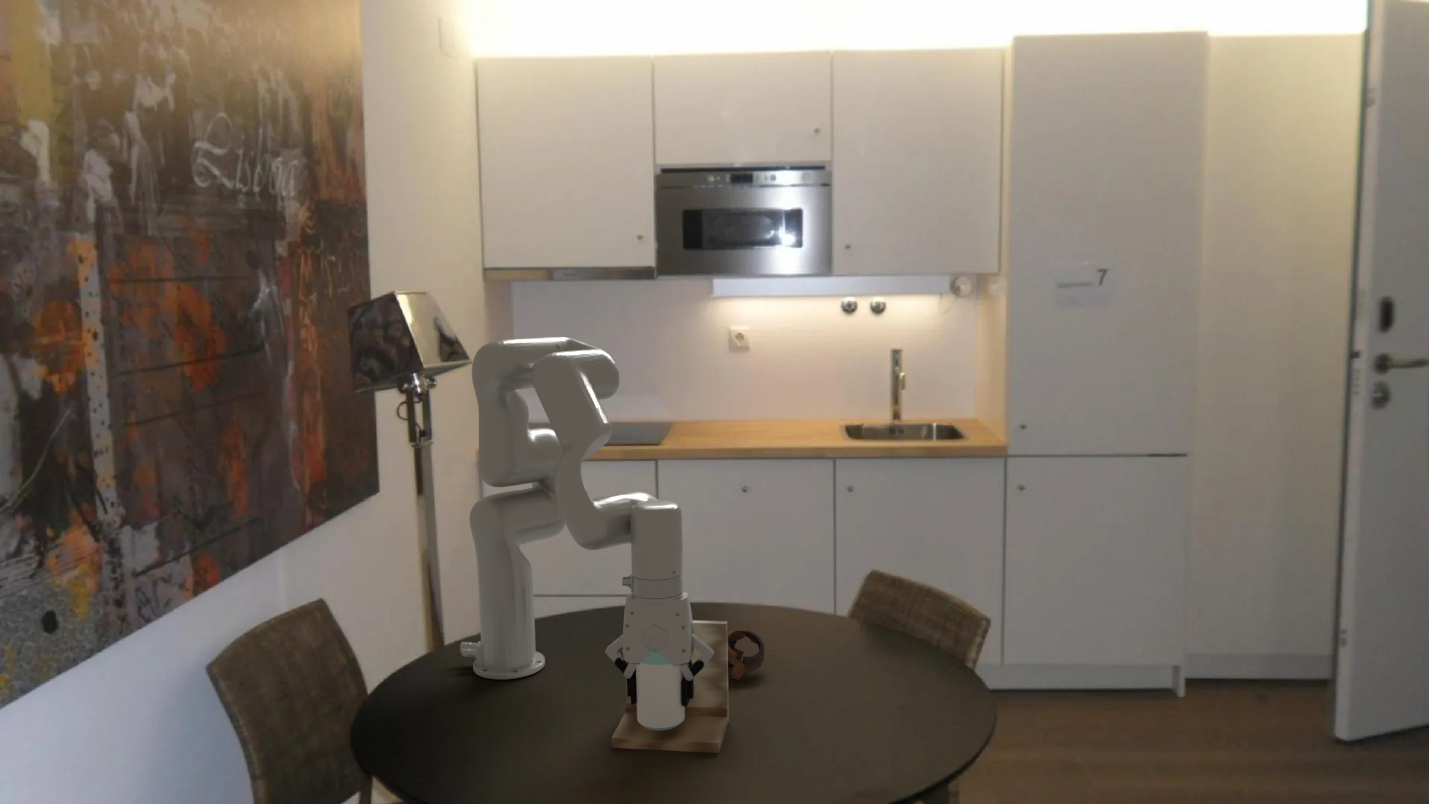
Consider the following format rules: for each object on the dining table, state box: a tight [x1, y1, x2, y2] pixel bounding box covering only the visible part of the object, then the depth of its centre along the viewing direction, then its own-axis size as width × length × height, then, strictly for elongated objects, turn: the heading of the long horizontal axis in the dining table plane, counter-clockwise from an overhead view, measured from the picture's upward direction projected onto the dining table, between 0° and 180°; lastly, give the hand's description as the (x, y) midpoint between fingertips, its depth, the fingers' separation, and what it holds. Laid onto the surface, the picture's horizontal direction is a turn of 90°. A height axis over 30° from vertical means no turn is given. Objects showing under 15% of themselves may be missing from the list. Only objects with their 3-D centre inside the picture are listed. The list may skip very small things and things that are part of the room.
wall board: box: [610, 619, 730, 754], centre depth 157 cm, size 16×11×16 cm
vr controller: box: [727, 628, 766, 681], centre depth 183 cm, size 12×10×8 cm
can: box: [636, 651, 685, 730], centre depth 154 cm, size 7×7×12 cm
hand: (660, 700), depth 155 cm, fingers closed on can, 7 cm apart
